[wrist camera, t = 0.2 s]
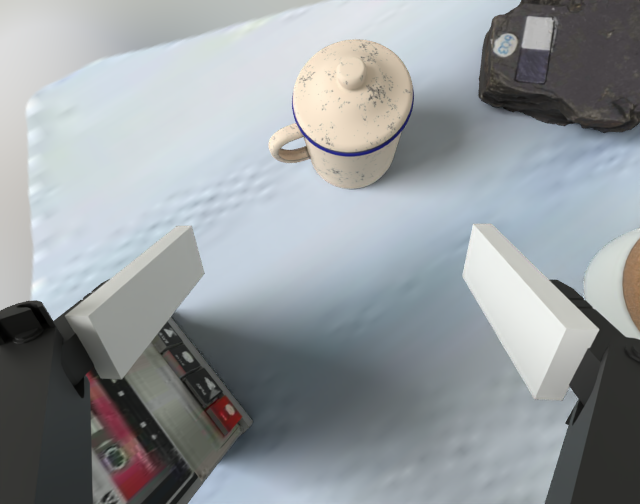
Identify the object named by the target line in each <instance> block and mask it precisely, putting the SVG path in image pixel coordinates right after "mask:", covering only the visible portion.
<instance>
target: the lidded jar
mask: <svg viewBox="0 0 640 504" xmlns="http://www.w3.org/2000/svg"><path fill="white" fill-rule="evenodd" d="M583 290H584V296H585V300H586V301H587V302H588V303H589V304H590V305H591V306H592V307H593V309H596V310H597V311H598V312H599V313H600V314H601V315H602V316H603V317H604V318H606V319H607V320H608V321H609V322H610V323H611V324H612V325H613V326H614V327H615V328H616V329H618V330H619V331H620V332H621V333H622V334H623V335H624V336H625V337H629V338H636V339H639V340H640V228H637V229H635V230H632V231H630V232H628V233H625V234H623V235H621V236H619V237H617V238H615V239H614V240H612V241H611V242H609V243H608V244H606V245H605V246H604V247H603V248H602V249H601V250H599V251H598V252H597V253H596V254H595V256H594V257H593V259H592V260H591V261H590V263H589V265H588V267H587V270H586V272H585V276H584V282H583Z"/></svg>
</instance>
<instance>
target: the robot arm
mask: <svg viewBox="0 0 640 504" xmlns="http://www.w3.org/2000/svg"><path fill="white" fill-rule="evenodd" d="M204 274H205V273H204V269H203V266H202V262H201V258H200V255H199V251H198V247H197V244H196V240H195V236H194V233H193V229H192V226H176V227H175V228H174V229H172V230H171V231H170V232H169V233H167V234H166V235H165V236H164V237H162V238H161V239H160V240H159V241H157V242H156V243H155V244H154V245H152V246H151V247H150V248H149V249H147V250H146V251H145V252H144V253H142V254H141V255H140V256H139V257H137V258H136V259H135V260H134V261H132V262H131V263H130V264H129V265H127V266H126V267H125V268H124V269H122V270H121V271H120V272H119V273H117V274H116V275H115V276H114V277H112V278H111V279H109V280H107V281H105V282H103V283H101V284H100V285H99V286H98V287H96V288H95V289H94V290H93V291H92V293H89V294H87V295H86V296H85V297H84V298H83V300H80V301H79V302H77V303H76V304H75V305H74V306H72V307H71V308H70V309H68V310H67V311H66V312H65V313H63V314H62V315H61V316H60V317H58V318H57V319H56V320H54V321H53V320H52V318H51V317H50V315H49V313H48V312H47V310H46V308H45V307H44V305H43V303H42V302H40V301H26V302H22V303H18V304H15V305H12V306H10V307H7V308H5V309H3V310H1V311H0V504H93V486H92V445H91V404H90V382H89V379H88V377H87V376H86V374H87V373H88V372H89V371H90V370H91V369H92V367H93V366H94V367H95V369H96V371H97V372H98V374H99V376H100V378H104V379H122V378H123V377H124V376H125V375H126V373H127V372H128V371H129V369H130V368H131V367H132V366H133V364H134V363H135V362H136V360H137V359H138V358H139V357H140V355H141V354H142V353H143V352H144V350H145V349H146V348H147V346H148V345H149V344H150V343H151V341H152V340H153V339H154V338H155V336H156V335H157V334H158V332H159V331H160V330H161V329H162V327H163V326H164V325H165V323H166V322H167V321H168V320H169V318H170V317H171V316H172V315H173V313H174V312H175V311H176V309H177V308H178V307H179V306H180V304H181V303H182V302H183V301H184V299H185V298H186V297H187V295H188V294H189V293H190V292H191V290H192V289H193V288H194V286H195V285H196V284H197V283H198V281H199V280H200V279H201V278H202V276H203V275H204ZM462 277H463V278H464V280H465V282H466V283H467V285H468V287H469V288H470V290H471V292H472V294H473V295H474V297H475V299H476V300H477V302H478V304H479V306H480V307H481V309H482V311H483V312H484V314H485V316H486V318H487V319H488V321H489V323H490V324H491V326H492V328H493V329H494V331H495V333H496V335H497V336H498V338H499V340H500V341H501V343H502V345H503V347H504V348H505V350H506V352H507V353H508V355H509V357H510V359H511V360H512V362H513V364H514V365H515V367H516V369H517V371H518V372H519V374H520V376H521V377H522V379H523V381H524V382H525V384H526V386H527V388H528V389H529V391H530V393H531V394H532V396H533V398H534V399H537V400H557V401H562V400H563V399H564V397H565V395H566V393H567V391H568V389H569V387H571V389H572V390H573V392H574V393H575V394H576V396H577V397H578V398H579V399H578V401H577V403H576V405H575V407H574V408H573V410H572V412H571V414H570V416H569V417H568V419H567V421H566V424H567V425H569V426H568V429H567V433H566V436H565V439H564V442H563V446H562V449H561V452H560V455H559V459H558V462H557V465H556V468H555V472H554V475H553V478H552V482H551V485H550V488H549V491H548V495H547V498H546V501H545V504H640V340H639V339H636V338H629V337H625V336H624V335H623V334H622V333H621V332H620V331H619V330H618V329H616V328H615V327H614V326H613V325H612V324H611V323H610V322H609V321H608V320H607V319H606V318H604V317H603V316H602V315H601V314H600V313H599V312H598V311H597V310H596V309H593V307H592V306H591V305H590V304H589V303H588V302H587V301H585V300H584V298H583V297H581V296H580V295H579V294H578V293H577V292H576V291H575V290H574V289H573V288H571V287H569V286H567V285H565V284H564V283H562V282H560V281H558V280H548V279H547V278H546V277H545V276H544V275H543V274H542V273H541V272H540V271H539V270H538V269H537V268H536V267H535V266H534V265H533V264H532V263H531V262H530V261H529V260H528V259H527V258H526V257H525V256H524V255H523V254H522V253H521V252H520V251H519V250H518V249H517V248H516V247H515V246H514V245H513V244H512V243H511V242H510V241H509V240H508V239H507V238H505V237H504V236H503V235H502V234H501V233H500V232H499V231H498V230H497V229H496V228H495V227H494V226H493V225H492V224H473V228H472V232H471V237H470V242H469V246H468V251H467V256H466V261H465V265H464V270H463V275H462Z"/></svg>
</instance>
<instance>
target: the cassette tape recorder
mask: <svg viewBox="0 0 640 504" xmlns="http://www.w3.org/2000/svg"><path fill="white" fill-rule="evenodd" d="M86 376H87V377H88V379H89V382H90V404H91V445H92V486H93V504H188V502H189V501H190V500H191V498H192V497H193V496H194V494H195V493H196V492H197V491H198V489H199V488H200V487H201V485H202V484H203V483H204V481H205V480H206V479H207V477H208V476H209V475H210V474H211V472H212V471H213V470H214V468H215V467H216V466H217V464H218V463H219V462H220V461H221V459H222V458H223V457H224V455H225V454H226V453H227V451H228V450H229V449H230V447H231V446H232V445H233V444H234V442H235V441H236V440H237V439H238V438H239V437H240V436H241V435H242V434H243V433H244V432H245V431H246V430H247V429H248V428H249V427H250V426H251V425H252V423H253V421H252V419H251V418H250V417H249V416H248V414H247V413H246V412H245V411H244V409H243V408H242V407H241V405H240V404H239V403H238V402H237V400H236V399H235V398H234V397H233V395H232V394H231V393H230V391H229V390H228V389H227V388H226V386H225V385H224V384H223V383H222V381H221V380H220V379H219V377H218V376H217V375H216V374H215V372H214V371H213V370H212V369H211V367H210V366H209V365H208V363H207V362H206V361H205V360H204V358H203V357H202V356H201V355H200V353H199V352H198V351H197V349H196V348H195V347H194V346H193V344H192V343H191V342H190V341H189V339H188V338H187V337H186V335H185V334H184V333H183V332H182V330H181V329H180V328H179V327H178V325H177V324H176V323H175V321H174V320H173V319H172V318H171V317H170V318H169V320H168V321H167V322H166V323H165V325H164V326H163V327H162V329H161V330H160V331H159V332H158V334H157V335H156V336H155V338H154V339H153V340H152V341H151V343H150V344H149V345H148V346H147V348H146V349H145V350H144V352H143V353H142V354H141V355H140V357H139V358H138V359H137V360H136V362H135V363H134V364H133V366H132V367H131V368H130V369H129V371H128V372H127V373H126V375H125V376H124V377H123V378H122V379H104V378H100V376H99V374H98V372H97V371H96V369H95V367H94V366H93V367H92V369H91V370H90V371H89V372H88V373H87V374H86Z"/></svg>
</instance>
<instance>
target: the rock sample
mask: <svg viewBox="0 0 640 504" xmlns="http://www.w3.org/2000/svg"><path fill="white" fill-rule="evenodd" d="M479 98H481V100H482V101H483V102H485V103H487V104H490V105H491V106H493V107H503V108H505V109H507V110H509V111H512V112H514V111H519V112H522V113H524V114H526V115H529V116H532V117H533V118H536V119H537V120H541V121H542V122H545V123H552V124H555V123H556V124H557V125H561V126H566V125H567V124H573V123H579V124H580V125H581V126H582V128H584V129H586V128H593V129H596V130H599V131H601V132H603V133H606V132H608V131H609V132H623V131H626V130H631V129H632V128H634V127H635V126H637V125H638V124H639V122H640V0H521V2H520V4H519V6H518V7H516V8H514V9H513V10H511V11H510V12H508V13H506V14H505V15H498V16H495V17H494V18H493V19H492V24H491V28H490V30H489V31H488V32H487V34H486V36H485V39H484V44H483V49H482V59H481V68H480V76H479Z"/></svg>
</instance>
